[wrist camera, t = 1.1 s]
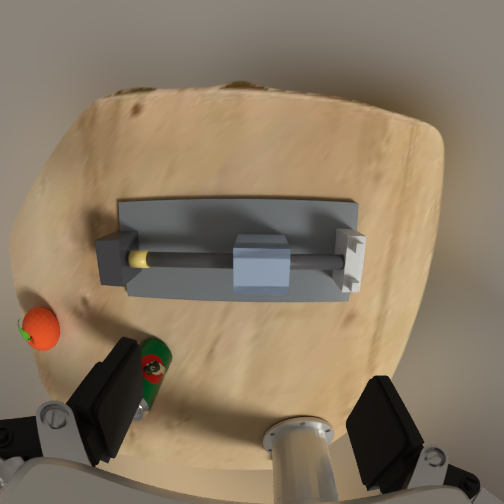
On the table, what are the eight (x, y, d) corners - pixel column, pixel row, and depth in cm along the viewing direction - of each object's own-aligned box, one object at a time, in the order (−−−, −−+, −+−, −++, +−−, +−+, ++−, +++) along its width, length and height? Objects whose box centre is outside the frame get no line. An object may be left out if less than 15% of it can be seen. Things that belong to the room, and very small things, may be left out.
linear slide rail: (356, 202, 30) (377, 208, 24) (346, 298, 33) (362, 321, 27) (117, 202, 31) (91, 207, 25) (127, 293, 34) (105, 314, 28)
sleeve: (284, 234, 30) (290, 249, 24) (282, 273, 31) (288, 295, 25) (238, 234, 30) (233, 248, 24) (238, 272, 31) (233, 294, 25)
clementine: (35, 323, 36) (12, 341, 29) (34, 291, 34) (8, 307, 28) (67, 344, 37) (45, 366, 30) (68, 312, 35) (42, 333, 28)
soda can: (139, 333, 35) (102, 386, 24) (173, 341, 35) (145, 400, 24) (141, 360, 37) (110, 415, 25) (173, 368, 37) (149, 427, 25)
